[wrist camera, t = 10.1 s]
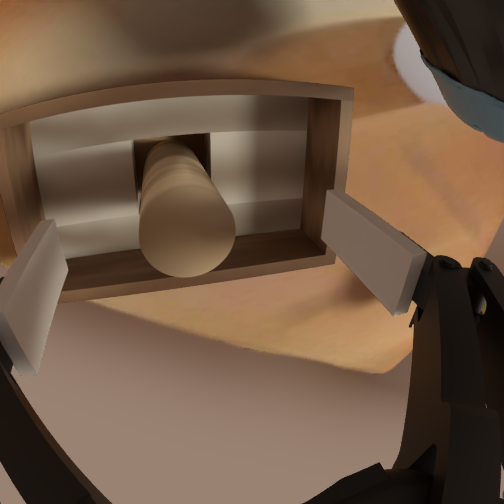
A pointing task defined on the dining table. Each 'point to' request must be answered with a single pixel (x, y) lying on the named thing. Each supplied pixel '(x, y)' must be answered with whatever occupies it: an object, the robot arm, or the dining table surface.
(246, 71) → the dining table surface
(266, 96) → the crate
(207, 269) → the peg
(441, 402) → the robot arm
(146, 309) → the dining table surface
